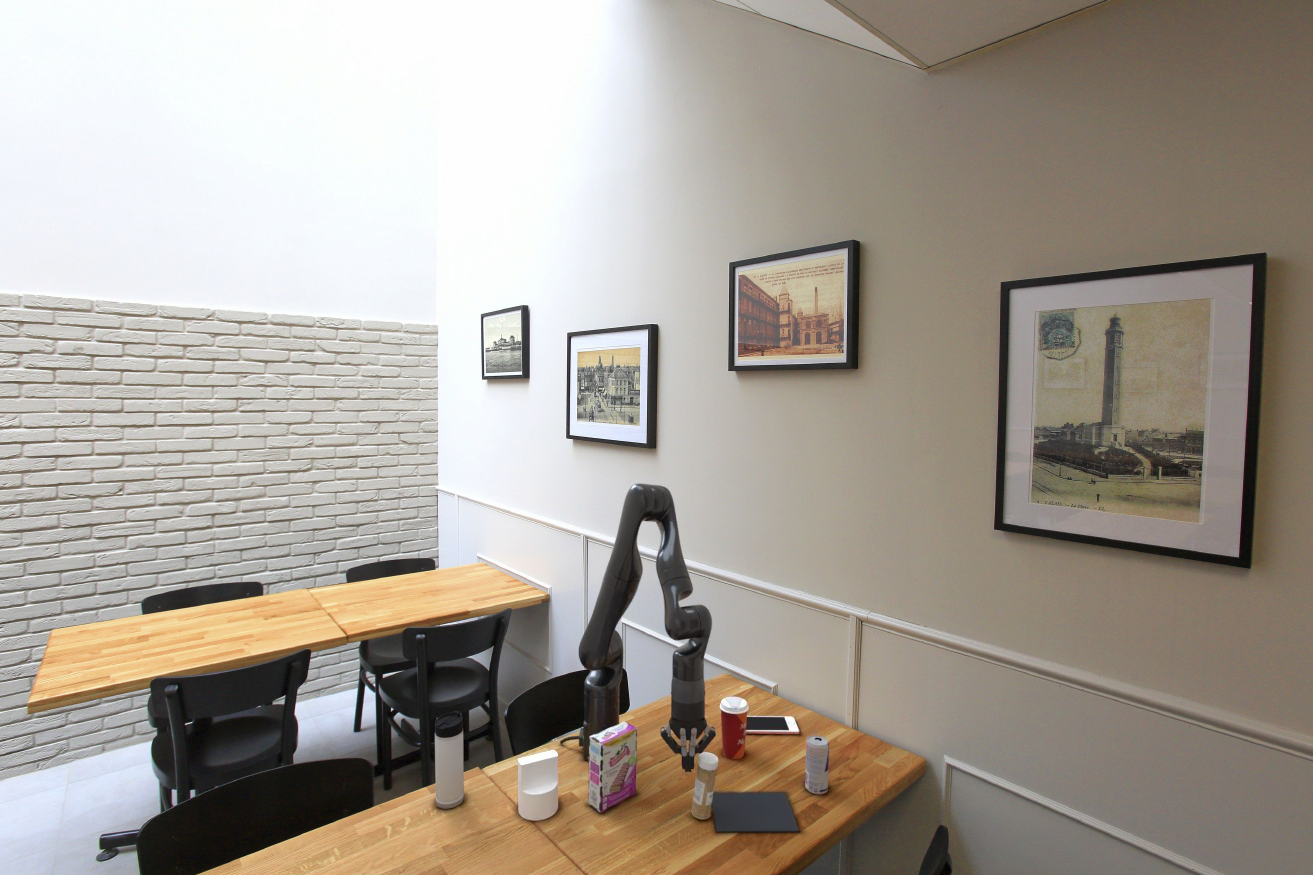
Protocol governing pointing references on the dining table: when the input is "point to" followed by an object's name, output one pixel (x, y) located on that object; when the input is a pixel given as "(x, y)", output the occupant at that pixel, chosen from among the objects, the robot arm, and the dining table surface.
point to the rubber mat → (753, 812)
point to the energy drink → (817, 764)
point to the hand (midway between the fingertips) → (687, 769)
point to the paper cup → (733, 726)
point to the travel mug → (449, 760)
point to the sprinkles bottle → (704, 785)
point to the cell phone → (771, 725)
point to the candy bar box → (612, 766)
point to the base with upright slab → (538, 785)
